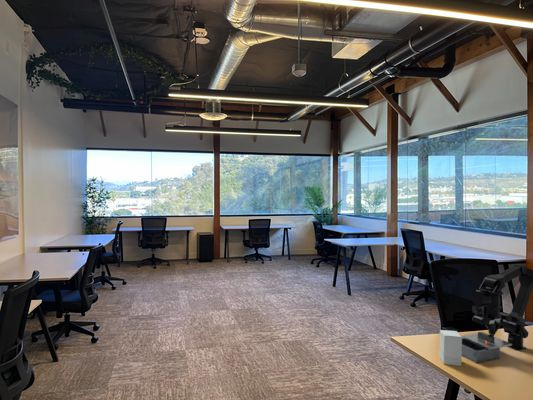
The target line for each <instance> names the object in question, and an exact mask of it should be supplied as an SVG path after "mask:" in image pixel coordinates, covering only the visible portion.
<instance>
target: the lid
mask: <svg viewBox="0 0 533 400" xmlns="http://www.w3.org/2000/svg"><path fill="white" fill-rule="evenodd" d="M461 337H462V338H464V339H466V340H468V341H470V342H473V343H475V344H477V345H480V346H482V347H484V348H486V349H495V348H500V349H501V348H505V347H508V346H512V344H511V343H509V342H508V341H506V340H504V339H501V338H498V337H496V336H495V335H494V336H491V335H489V333H485V332H483V331H478V332H477V333H476V332H475V333H470V334H469V333H468V334H463V335H461Z"/></svg>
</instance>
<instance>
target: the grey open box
mask: <svg viewBox="0 0 533 400" xmlns="http://www.w3.org/2000/svg"><path fill="white" fill-rule="evenodd" d="M462 357H463V358H466V359H467V360H469V361H470V362H473V363H475V364H480V363H485V362H491V361H496V360H500V359H501V358H500V357H501V348H495V349H486V348H484V347H482V346H480V345H477V344H475V343H473V342H470V341H468V340H466V339H464V338H462Z"/></svg>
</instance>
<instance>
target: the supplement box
mask: <svg viewBox="0 0 533 400" xmlns="http://www.w3.org/2000/svg"><path fill="white" fill-rule="evenodd" d="M461 336H462V335H461V334H460V333H459V332H458V331H457V330H446V329H445V330H444V329H440V330H439V350H438V352H439V354H438V358H439V359H440V361H441V362H442V364H443V365H449V366H458V367H459V366H460V367H461V366H462V357H463V356H462V337H461Z"/></svg>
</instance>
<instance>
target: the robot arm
mask: <svg viewBox="0 0 533 400" xmlns="http://www.w3.org/2000/svg"><path fill="white" fill-rule="evenodd" d="M517 277H518V281H519V288H518V291H517V293H516V296H515V297H516V298H515V300H514V303H513V306H512V308H511V311H510V312H509V313H506V312H505V313H504V312H500V311H501V310H502V309H503V307H502V306H501V295H504V292H503V291H502V290H503V289H504V288H505V287H506V284H507V283H508V282H511V281H512V280H514V279H515V278H517ZM532 291H533V269H531V268H528V266H525V265H523V264H518V263H515V264H513V265H512V266H510V267H509V268H507V269H505V270H503V271H502V272H499V273H498V274H490V275H486V276H485V277H484V278H483V281H482V282H481V284H480V286H479V288H478V289H476V290H475V292H474V293H472V296H471V301H472V303H473V305H472V308H471V311H472V313H473V314H475V315H473V316H472V322H474V323H476V324H480V325H481V326H485V327H486V328H487V331H488V334H489V335H491V336H494V337H495V335H496V334H497V331H498V330H500V328H501V326H502V329H503V331H504V333H507V342H509V343H511V344H512V346H507V347H508V348H511V349H513V350H516V351H522V350H526V349H527V347H526V346H524V339H527V338H528V337H529V334H530V333H529V331H528V330H527V329H526V327H525V326H526V322H525V319H524V316H525V312H526V309H527V307H528V306H527V305H528V304H529V300H530V296H531V294H532ZM479 306H481V307H479ZM501 320H502V322H501Z"/></svg>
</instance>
